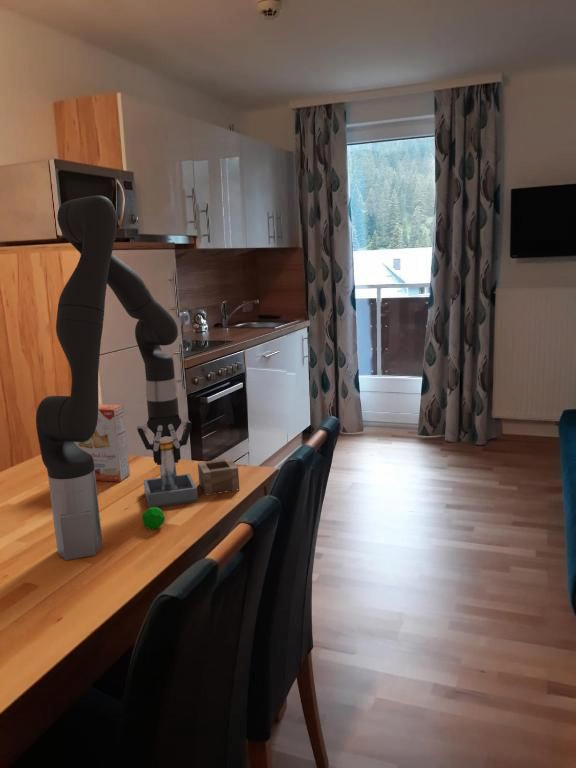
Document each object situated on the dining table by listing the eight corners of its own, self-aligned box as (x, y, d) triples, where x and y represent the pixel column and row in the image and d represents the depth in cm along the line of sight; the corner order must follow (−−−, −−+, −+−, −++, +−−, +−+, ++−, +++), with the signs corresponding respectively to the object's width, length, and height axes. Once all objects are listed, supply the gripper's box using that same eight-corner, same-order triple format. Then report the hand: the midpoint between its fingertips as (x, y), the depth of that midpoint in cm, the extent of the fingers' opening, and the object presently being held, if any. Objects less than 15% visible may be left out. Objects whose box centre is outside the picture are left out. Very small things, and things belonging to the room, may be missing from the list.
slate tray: (197, 501, 161) (196, 488, 160) (149, 508, 157) (147, 495, 156) (190, 485, 172) (189, 473, 171) (144, 492, 168) (143, 479, 168)
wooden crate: (239, 490, 167) (238, 468, 166) (205, 495, 165) (203, 472, 163) (232, 479, 176) (230, 458, 174) (199, 483, 173) (197, 462, 172)
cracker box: (75, 480, 180) (66, 408, 176) (86, 473, 186) (78, 403, 182) (120, 482, 177) (113, 408, 173) (130, 475, 183) (123, 403, 179)
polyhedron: (141, 526, 147) (139, 506, 146) (162, 521, 149) (161, 502, 148) (145, 534, 143) (143, 514, 142) (167, 530, 144) (165, 510, 144)
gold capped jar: (178, 489, 163) (174, 443, 160) (162, 491, 162) (158, 445, 159) (176, 484, 166) (172, 439, 164) (160, 486, 165) (156, 441, 163)
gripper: (133, 402, 154) (140, 471, 157) (192, 396, 158) (198, 463, 161) (131, 396, 161) (137, 462, 164) (188, 391, 165) (193, 455, 168)
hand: (167, 462), depth 163 cm, fingers closed on gold capped jar, 4 cm apart
